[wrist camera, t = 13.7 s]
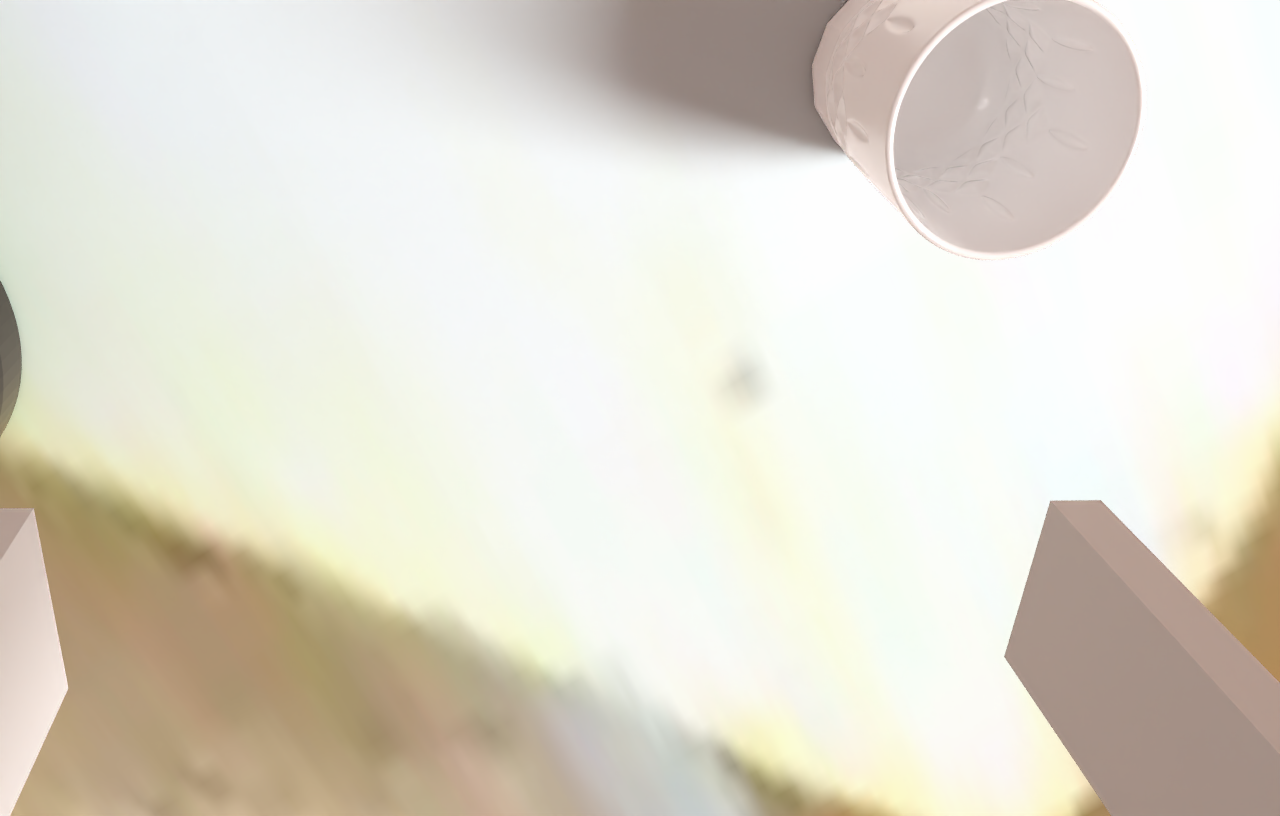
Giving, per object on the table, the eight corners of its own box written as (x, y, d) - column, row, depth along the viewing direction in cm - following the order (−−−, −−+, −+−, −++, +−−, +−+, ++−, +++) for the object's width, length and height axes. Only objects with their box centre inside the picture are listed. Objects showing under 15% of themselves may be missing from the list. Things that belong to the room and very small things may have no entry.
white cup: (828, 205, 43) (922, 299, 34) (767, 7, 39) (855, 55, 30) (1018, 126, 42) (1163, 200, 33) (975, -82, 38) (1126, -60, 30)
